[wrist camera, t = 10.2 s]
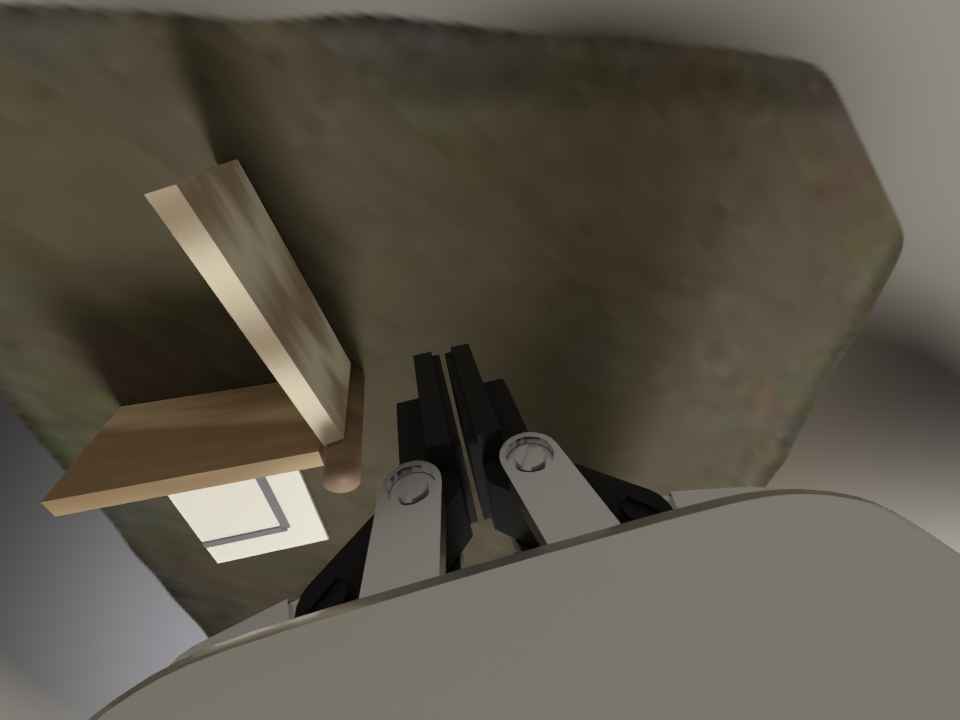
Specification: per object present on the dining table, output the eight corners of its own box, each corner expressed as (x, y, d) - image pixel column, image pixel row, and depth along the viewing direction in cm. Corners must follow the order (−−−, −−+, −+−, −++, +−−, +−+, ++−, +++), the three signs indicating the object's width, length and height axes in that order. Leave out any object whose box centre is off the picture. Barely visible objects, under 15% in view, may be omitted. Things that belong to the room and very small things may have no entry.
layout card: (328, 535, 39) (328, 540, 39) (219, 559, 38) (217, 564, 37) (291, 449, 32) (290, 453, 32) (156, 473, 31) (153, 478, 30)
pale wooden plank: (350, 363, 29) (343, 438, 23) (335, 368, 29) (323, 445, 23) (237, 159, 21) (175, 184, 15) (215, 165, 21) (144, 194, 15)
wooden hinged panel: (367, 386, 31) (364, 488, 23) (132, 423, 28) (34, 555, 20) (361, 364, 30) (356, 464, 22) (117, 402, 27) (6, 531, 19)
